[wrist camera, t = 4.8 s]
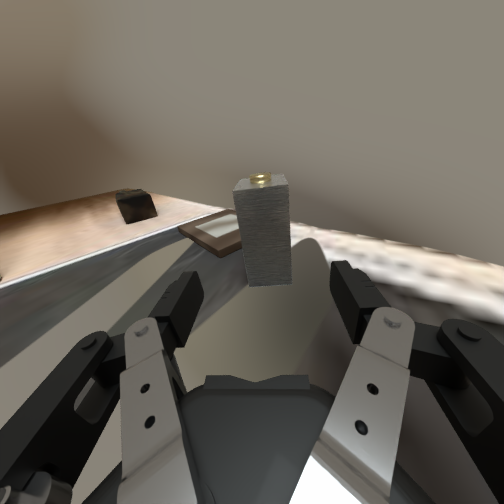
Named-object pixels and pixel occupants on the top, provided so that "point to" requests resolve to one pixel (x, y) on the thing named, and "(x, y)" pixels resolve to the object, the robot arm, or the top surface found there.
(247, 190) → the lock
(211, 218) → the mount plate
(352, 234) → the top surface
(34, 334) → the top surface
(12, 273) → the top surface
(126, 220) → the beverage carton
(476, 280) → the top surface
